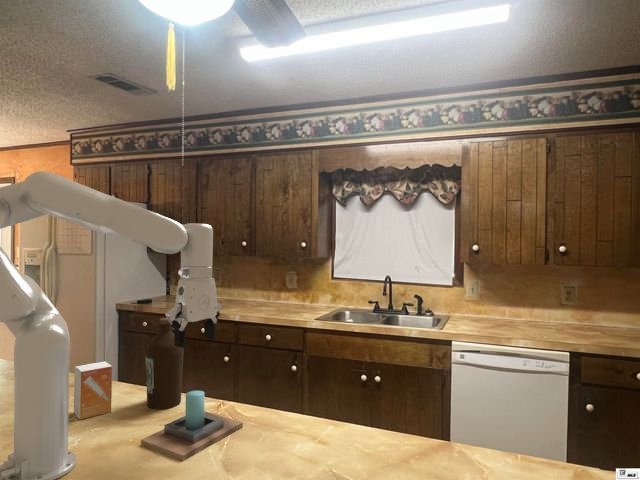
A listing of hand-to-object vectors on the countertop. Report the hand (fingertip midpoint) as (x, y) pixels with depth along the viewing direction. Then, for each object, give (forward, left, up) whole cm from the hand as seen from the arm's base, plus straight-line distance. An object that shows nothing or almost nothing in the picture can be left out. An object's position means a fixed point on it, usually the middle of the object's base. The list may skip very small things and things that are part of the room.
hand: (195, 342), depth 106 cm
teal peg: (0, 0, -22) cm, 22 cm away
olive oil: (+10, +23, -23) cm, 34 cm away
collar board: (0, 0, -23) cm, 23 cm away
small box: (-5, +34, -23) cm, 41 cm away
